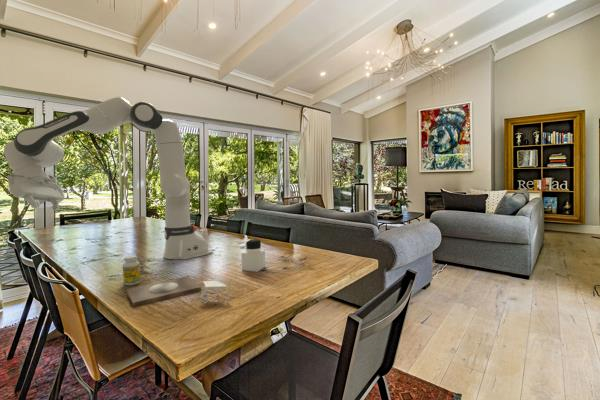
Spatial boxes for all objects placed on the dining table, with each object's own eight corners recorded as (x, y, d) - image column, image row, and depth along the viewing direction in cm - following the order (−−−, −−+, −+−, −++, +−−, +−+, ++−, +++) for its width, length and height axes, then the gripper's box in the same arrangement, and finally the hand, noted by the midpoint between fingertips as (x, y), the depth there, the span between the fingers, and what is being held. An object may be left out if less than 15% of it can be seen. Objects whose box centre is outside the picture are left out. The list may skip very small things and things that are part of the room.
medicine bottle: (265, 266, 127) (264, 238, 126) (257, 272, 120) (256, 242, 119) (250, 265, 129) (249, 237, 128) (241, 270, 122) (240, 240, 121)
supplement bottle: (142, 279, 113) (141, 254, 112) (138, 284, 108) (136, 258, 107) (126, 281, 112) (124, 255, 111) (121, 286, 107) (119, 259, 106)
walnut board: (188, 279, 113) (188, 275, 113) (201, 290, 101) (200, 286, 101) (126, 292, 101) (126, 288, 101) (133, 306, 90) (133, 302, 89)
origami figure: (190, 304, 91) (189, 288, 91) (205, 293, 99) (204, 278, 99) (226, 308, 88) (226, 291, 88) (239, 296, 96) (239, 281, 96)
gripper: (13, 168, 109) (29, 200, 107) (59, 179, 129) (74, 206, 127) (-3, 177, 109) (13, 210, 107) (46, 187, 129) (60, 214, 127)
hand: (46, 208), depth 117 cm, fingers open, 8 cm apart
